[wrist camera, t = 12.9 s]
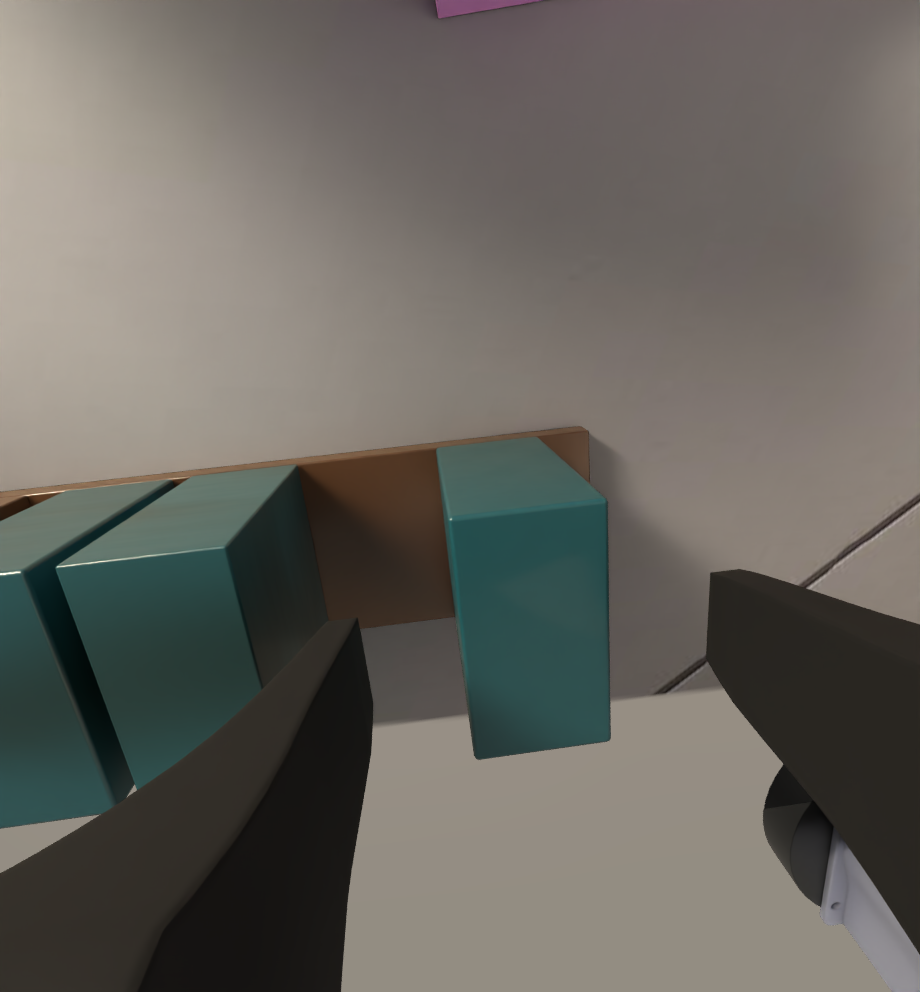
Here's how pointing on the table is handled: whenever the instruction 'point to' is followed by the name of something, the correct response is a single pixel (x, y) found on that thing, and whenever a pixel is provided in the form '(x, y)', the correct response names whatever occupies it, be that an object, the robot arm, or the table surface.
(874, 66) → the table surface
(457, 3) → the bracket
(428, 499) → the rack
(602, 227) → the table surface
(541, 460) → the teal rectangular block
